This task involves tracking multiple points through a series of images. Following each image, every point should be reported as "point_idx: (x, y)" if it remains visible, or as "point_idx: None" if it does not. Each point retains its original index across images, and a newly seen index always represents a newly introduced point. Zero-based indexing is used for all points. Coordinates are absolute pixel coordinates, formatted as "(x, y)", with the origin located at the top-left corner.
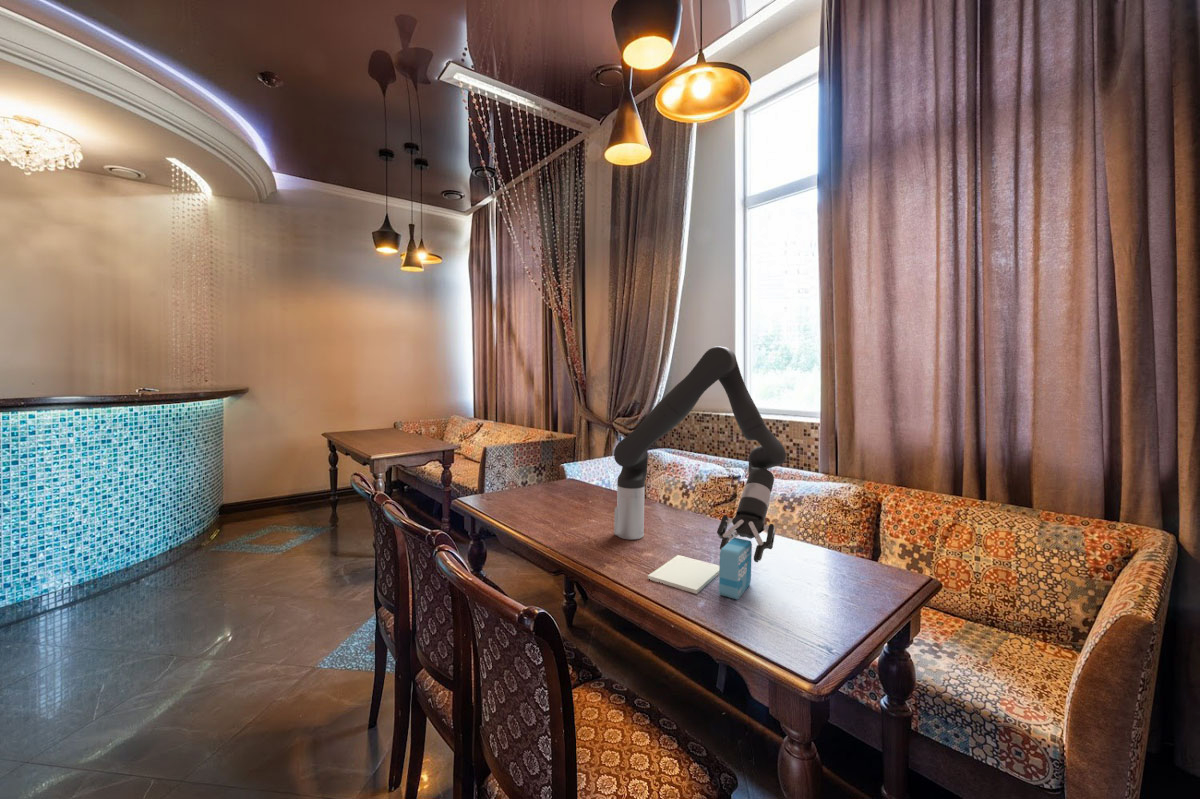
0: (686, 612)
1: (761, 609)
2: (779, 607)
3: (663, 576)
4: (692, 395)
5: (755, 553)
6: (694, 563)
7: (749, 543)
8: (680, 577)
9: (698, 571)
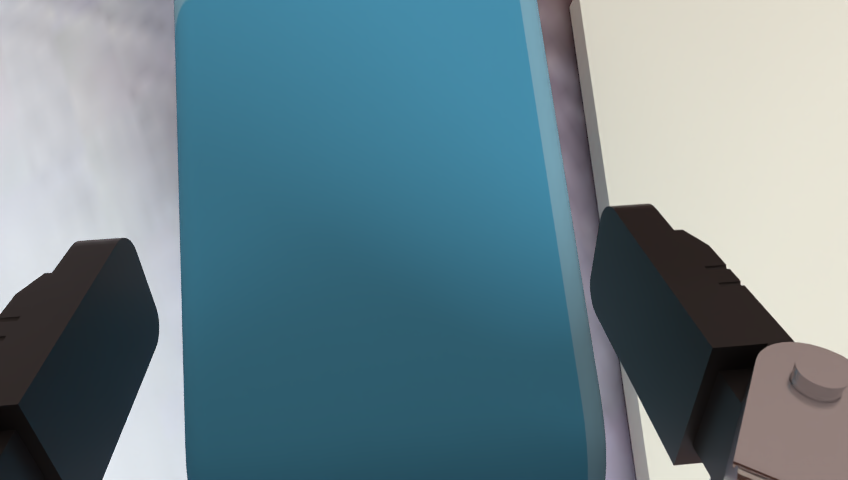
0: None
1: (114, 87)
2: (8, 198)
3: None
4: None
5: (80, 277)
6: None
7: (187, 374)
8: (790, 93)
9: (762, 299)
